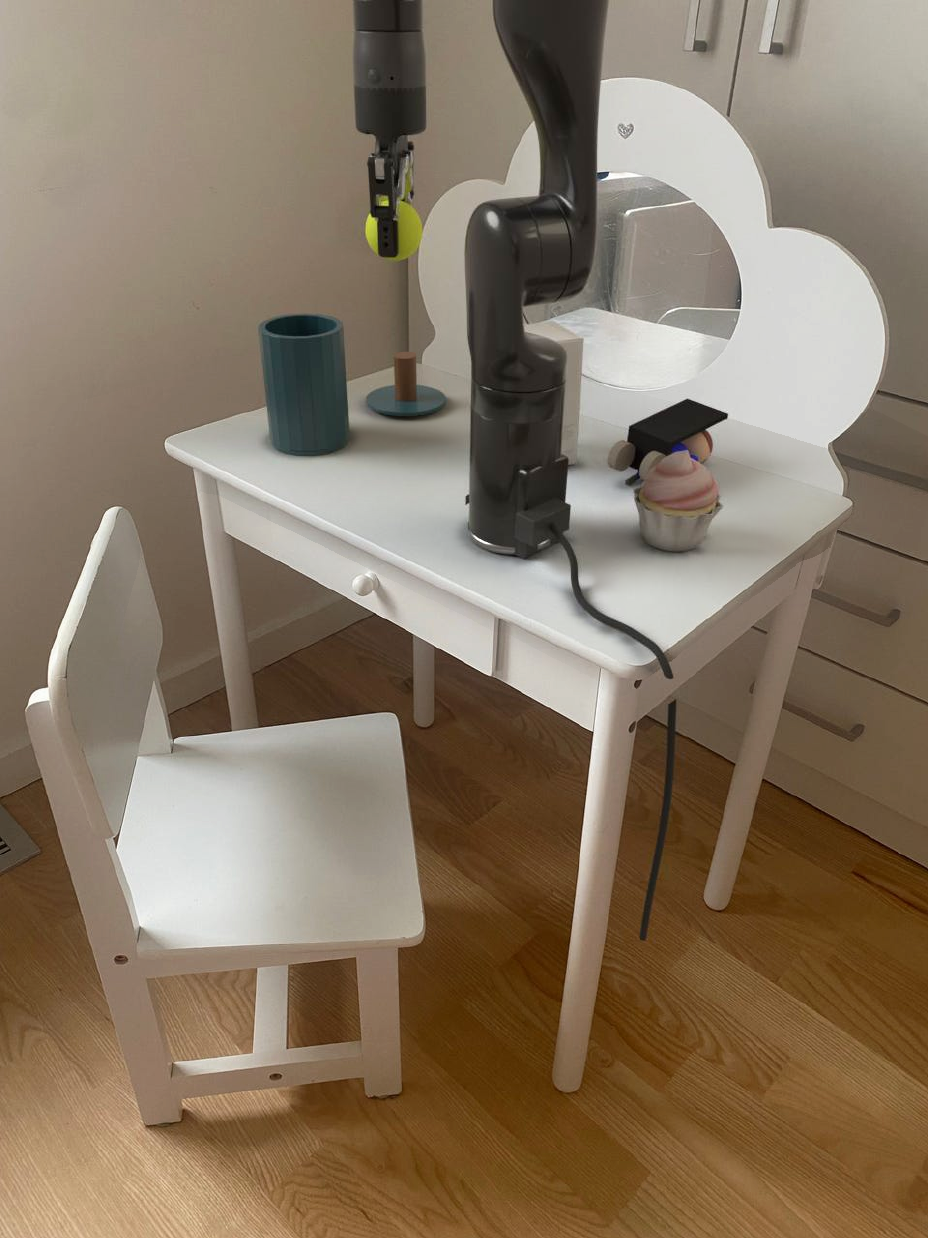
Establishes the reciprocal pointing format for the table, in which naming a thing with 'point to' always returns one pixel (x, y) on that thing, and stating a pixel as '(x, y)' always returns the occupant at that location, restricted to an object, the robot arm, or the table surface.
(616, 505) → the table surface
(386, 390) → the tube lid
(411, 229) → the tennis ball
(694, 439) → the figurine character
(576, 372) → the cosmetic box
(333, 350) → the tube
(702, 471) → the cupcake
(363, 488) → the table surface
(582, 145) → the robot arm
